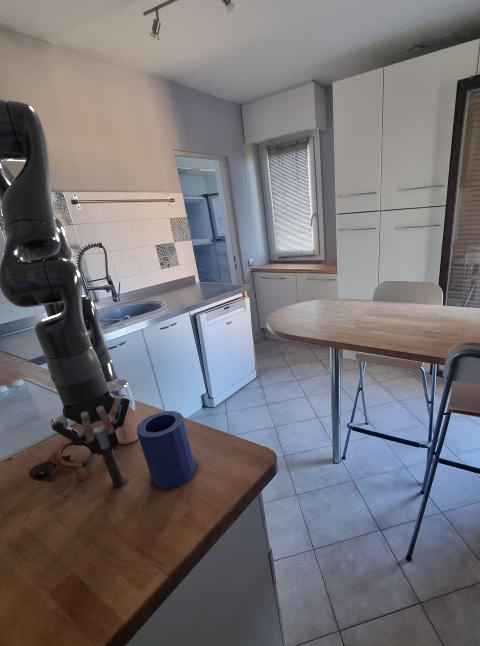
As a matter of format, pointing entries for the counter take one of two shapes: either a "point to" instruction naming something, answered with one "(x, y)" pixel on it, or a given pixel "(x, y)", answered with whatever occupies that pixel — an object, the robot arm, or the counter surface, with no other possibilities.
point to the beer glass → (130, 425)
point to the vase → (166, 448)
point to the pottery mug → (62, 464)
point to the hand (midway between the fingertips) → (106, 449)
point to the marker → (108, 456)
